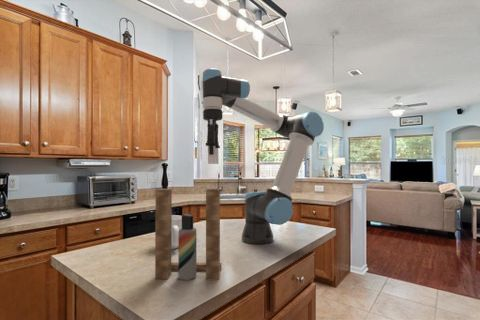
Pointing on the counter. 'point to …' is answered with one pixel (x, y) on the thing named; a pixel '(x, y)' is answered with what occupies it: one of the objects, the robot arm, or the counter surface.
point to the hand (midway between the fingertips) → (213, 163)
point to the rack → (165, 235)
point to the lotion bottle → (187, 249)
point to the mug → (176, 229)
